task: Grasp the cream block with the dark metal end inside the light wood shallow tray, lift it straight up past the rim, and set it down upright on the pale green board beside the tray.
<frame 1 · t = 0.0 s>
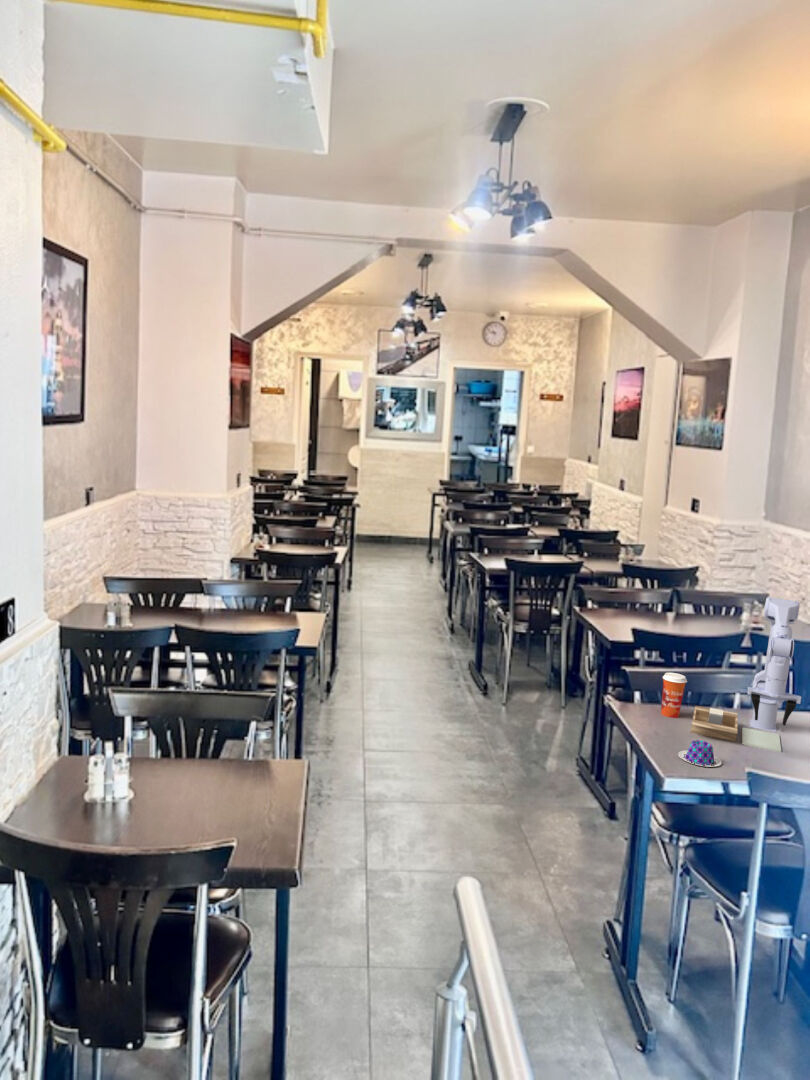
hand: (769, 721, 258), 10 cm above the table, tool pointing down, fingers open, 7 cm apart
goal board: (760, 741, 270), on the table
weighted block: (713, 730, 275), resting on light wood shallow tray
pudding: (699, 761, 249), on the table
light wood shallow tray: (713, 732, 275), on the table
paper cup: (669, 716, 287), on the table
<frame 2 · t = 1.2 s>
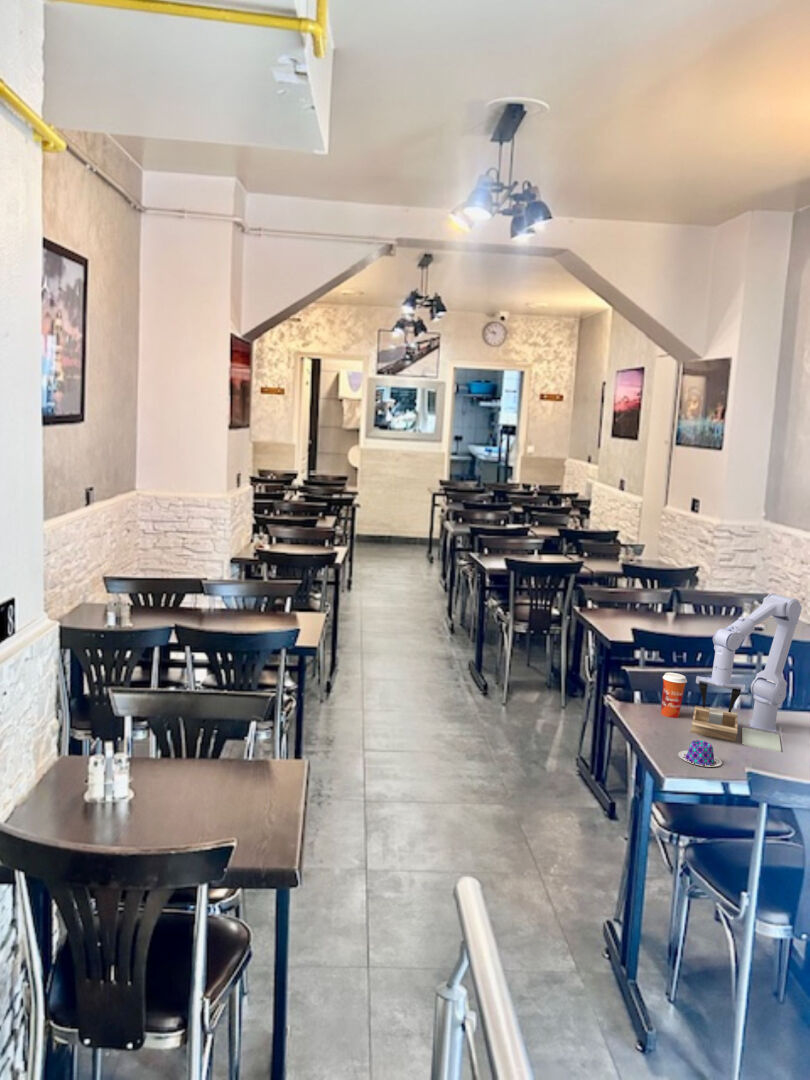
hand: (716, 709, 273), 8 cm above the table, tool pointing down, fingers open, 7 cm apart
nothing on the table moved.
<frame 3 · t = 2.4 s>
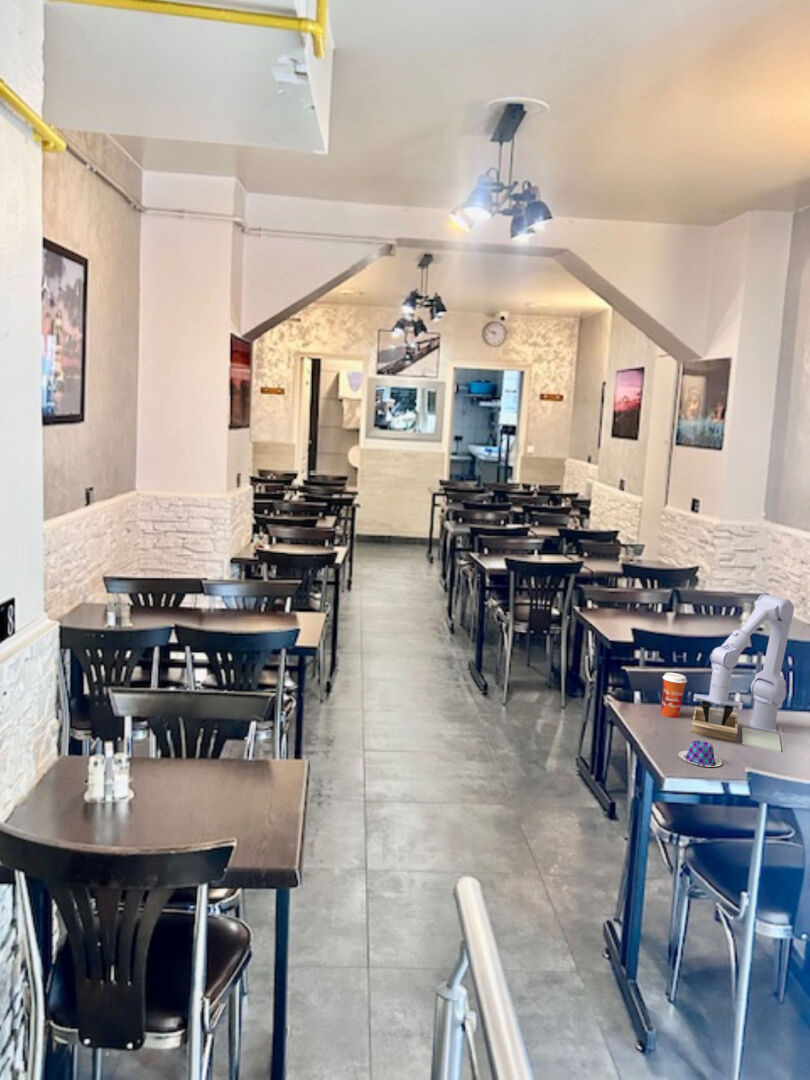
hand: (714, 726, 274), 2 cm above the table, tool pointing down, fingers closed on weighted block, 4 cm apart
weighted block: (713, 730, 275), resting on light wood shallow tray, touching gripper
everything else where it was.
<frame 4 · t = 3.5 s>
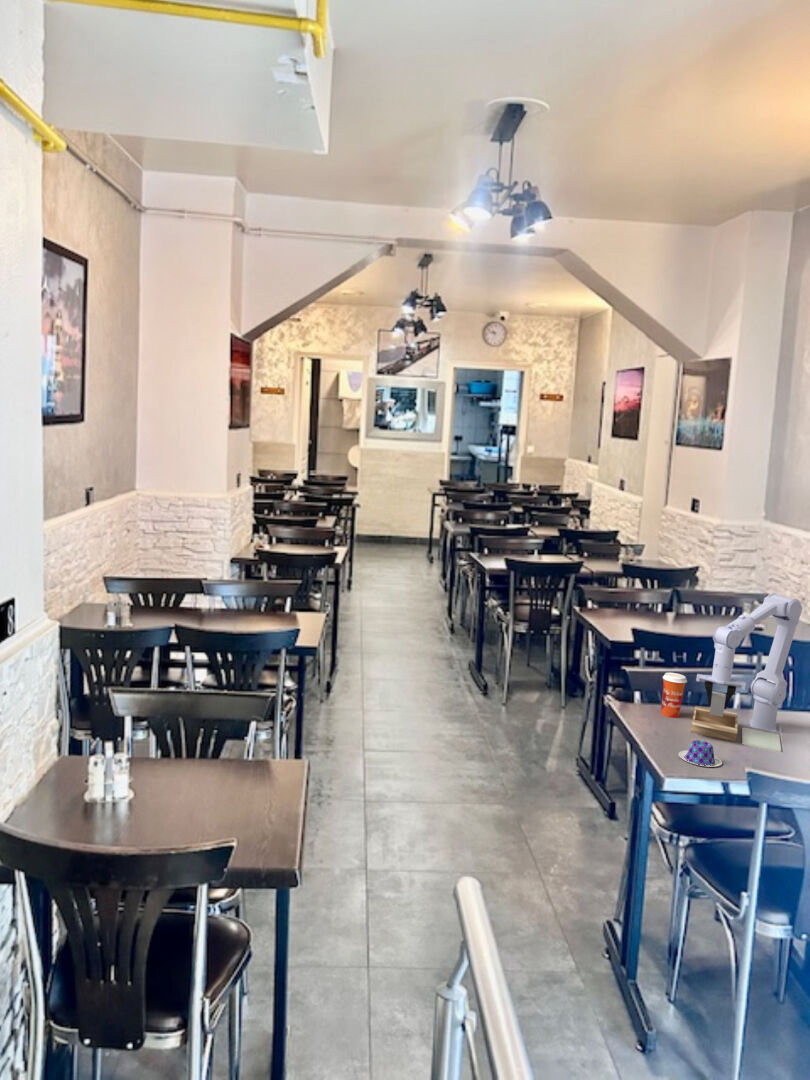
hand: (717, 706, 273), 9 cm above the table, tool pointing down, fingers closed on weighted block, 4 cm apart
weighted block: (716, 713, 274), point 6 cm above the table, tilted 6°, touching gripper
everything else where it was.
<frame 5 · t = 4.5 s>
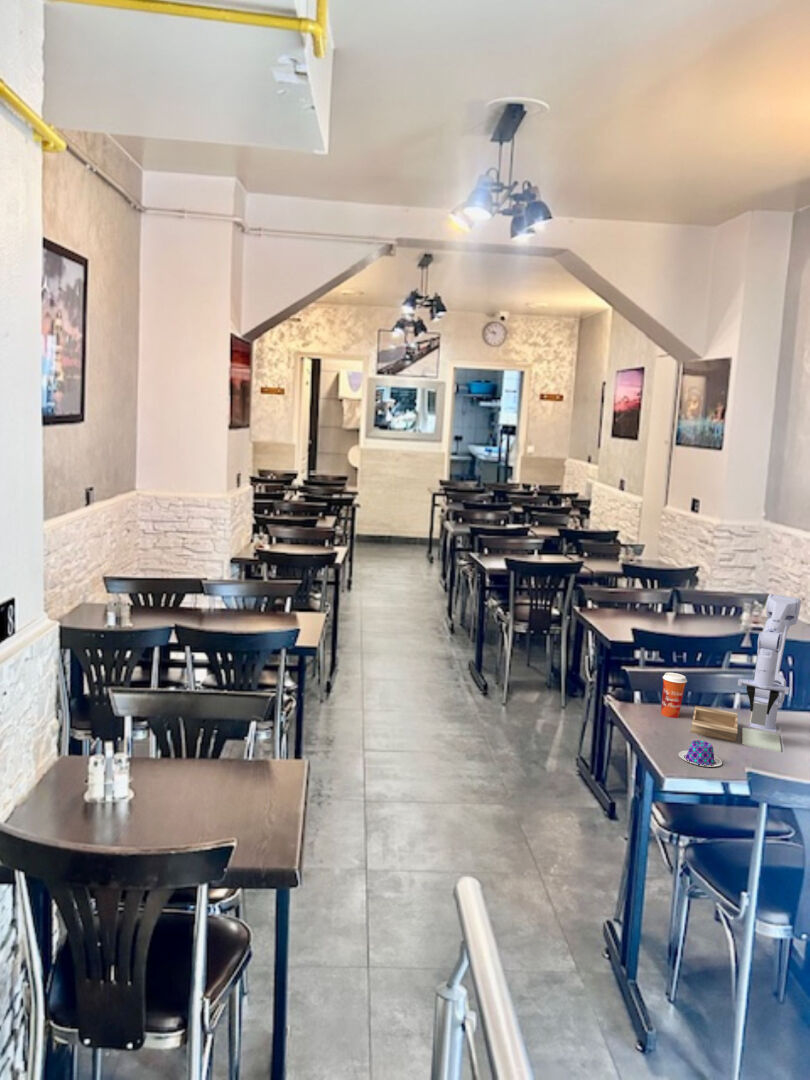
hand: (759, 712, 269), 9 cm above the table, tool pointing down, fingers closed on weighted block, 4 cm apart
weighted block: (757, 723, 270), point 6 cm above the table, tilted 11°, touching gripper
everything else where it was.
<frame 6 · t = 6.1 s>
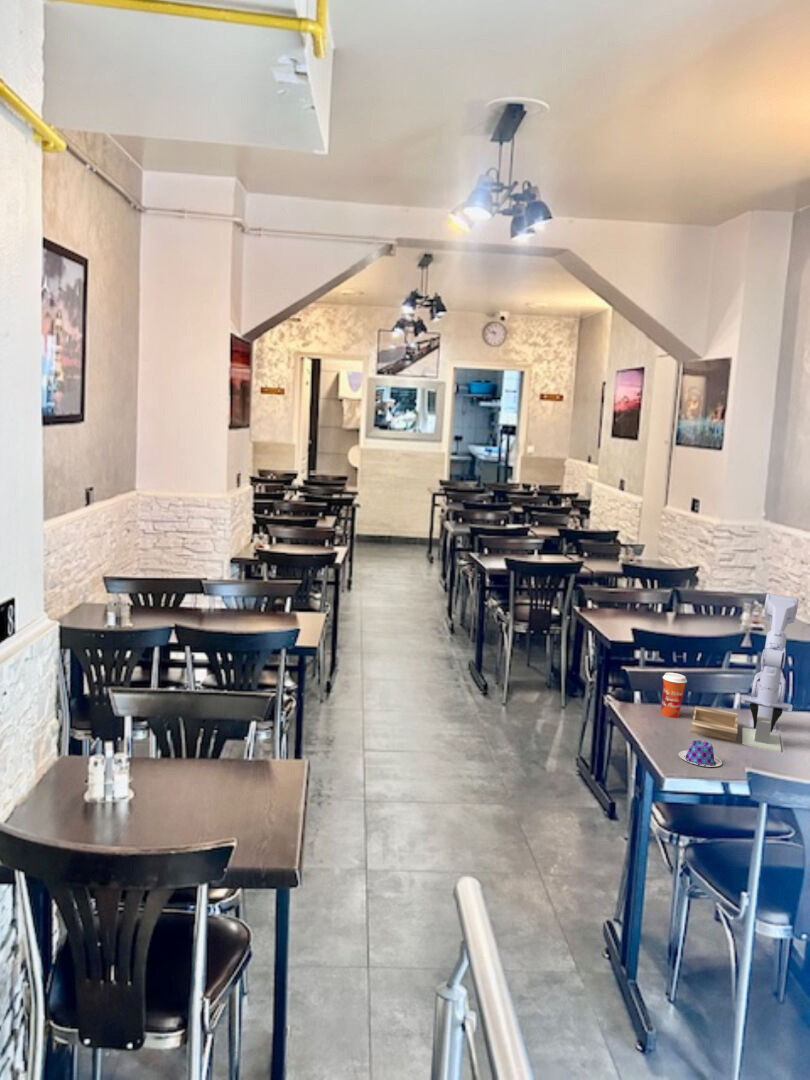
hand: (762, 729, 269), 4 cm above the table, tool pointing down, fingers closed on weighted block, 4 cm apart
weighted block: (761, 738, 270), point 1 cm above the table, touching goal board, gripper
everything else where it was.
when the fingers open (4 cm above the table, at t = 6.1 s): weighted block stays where it is, resting on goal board.
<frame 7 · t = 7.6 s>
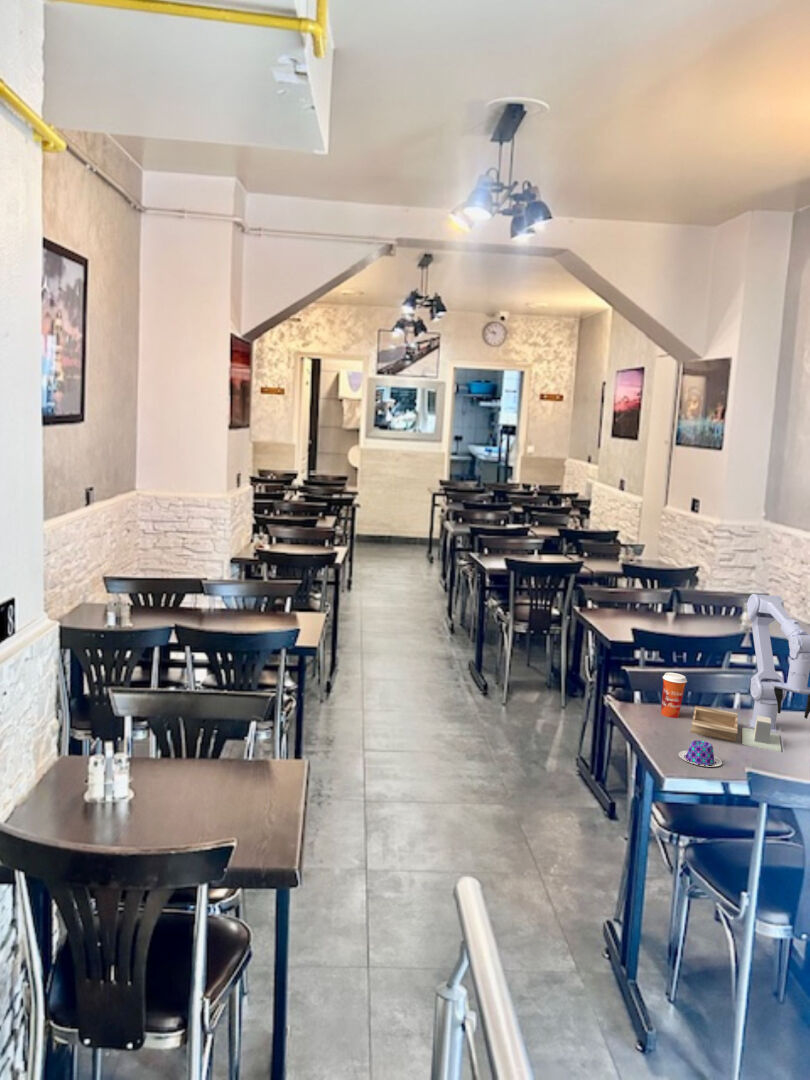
hand: (792, 715, 269), 9 cm above the table, tool pointing down, fingers open, 7 cm apart
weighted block: (761, 738, 270), point 1 cm above the table, touching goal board
everything else where it was.
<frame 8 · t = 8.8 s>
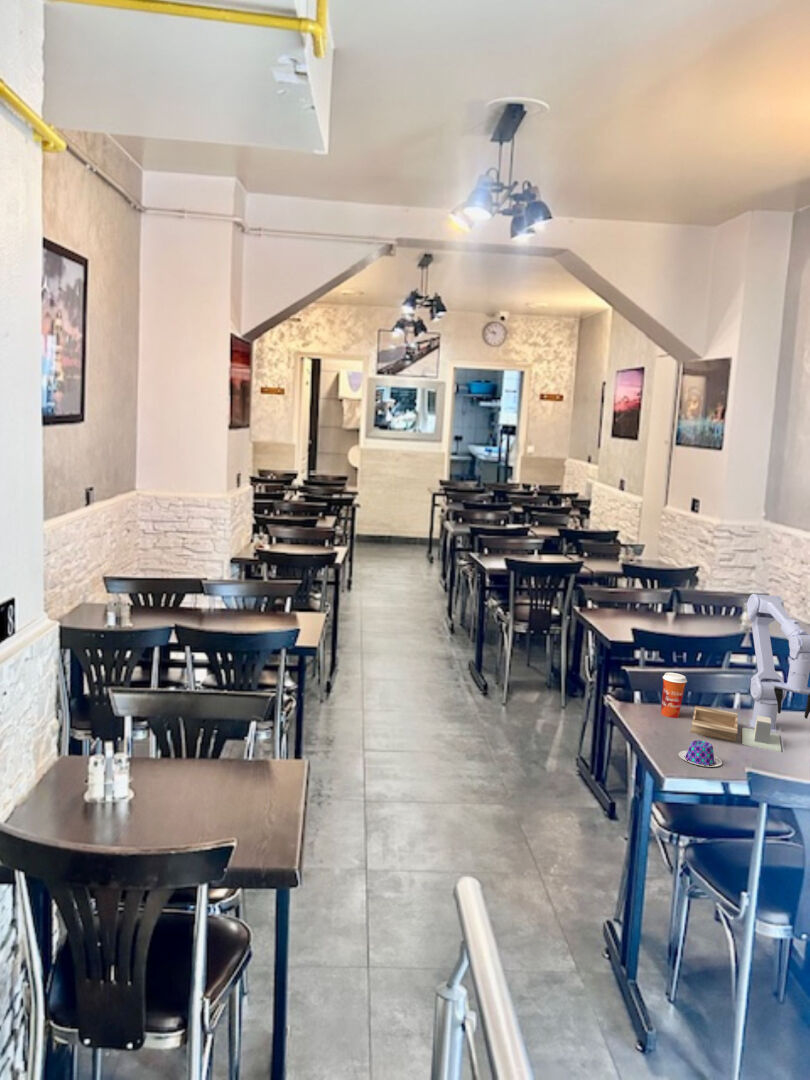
hand: (792, 715, 269), 9 cm above the table, tool pointing down, fingers open, 7 cm apart
nothing on the table moved.
at the end: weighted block inside the target area on the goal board (0.3 cm from its centre), point 1.0 cm above the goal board's base; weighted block tilted 0°; the gripper is holding nothing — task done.
